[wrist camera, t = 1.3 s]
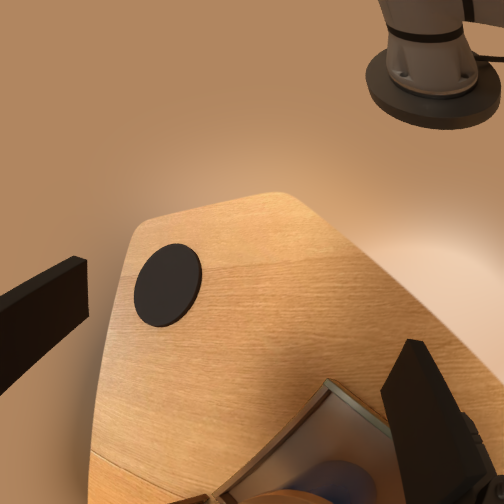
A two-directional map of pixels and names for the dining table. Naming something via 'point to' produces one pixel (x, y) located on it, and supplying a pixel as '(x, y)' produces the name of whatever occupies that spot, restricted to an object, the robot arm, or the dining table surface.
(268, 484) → the drawer
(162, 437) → the dining table surface
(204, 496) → the cabinet
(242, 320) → the dining table surface
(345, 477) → the jar
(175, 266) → the coaster
